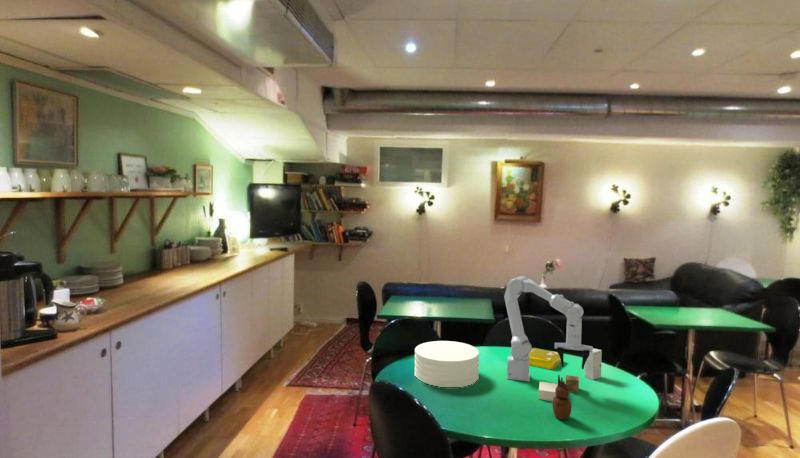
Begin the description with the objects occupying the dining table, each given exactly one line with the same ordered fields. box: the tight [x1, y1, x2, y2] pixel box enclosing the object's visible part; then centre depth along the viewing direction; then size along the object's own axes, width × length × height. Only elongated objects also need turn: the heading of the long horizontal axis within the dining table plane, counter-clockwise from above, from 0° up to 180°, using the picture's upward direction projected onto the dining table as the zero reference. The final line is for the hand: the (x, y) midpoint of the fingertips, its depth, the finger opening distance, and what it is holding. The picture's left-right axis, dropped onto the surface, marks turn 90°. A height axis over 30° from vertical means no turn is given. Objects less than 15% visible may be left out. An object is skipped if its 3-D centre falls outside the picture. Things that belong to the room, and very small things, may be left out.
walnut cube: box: [565, 374, 580, 394], centre depth 193 cm, size 5×5×5 cm
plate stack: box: [414, 340, 480, 388], centre depth 207 cm, size 28×28×12 cm
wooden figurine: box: [551, 374, 572, 421], centre depth 168 cm, size 7×6×15 cm
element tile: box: [529, 347, 562, 370], centre depth 226 cm, size 15×15×5 cm
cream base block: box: [538, 381, 558, 402], centre depth 187 cm, size 9×9×4 cm
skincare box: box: [584, 347, 603, 380], centre depth 207 cm, size 6×4×12 cm
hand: (572, 367), depth 193 cm, fingers open, 7 cm apart
